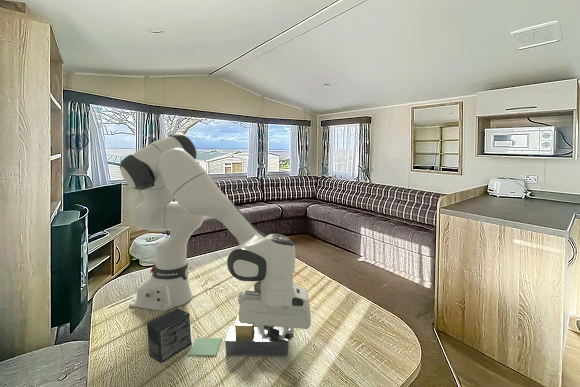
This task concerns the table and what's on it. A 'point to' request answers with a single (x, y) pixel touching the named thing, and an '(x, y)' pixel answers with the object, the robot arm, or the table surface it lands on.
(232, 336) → the body
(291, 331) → the lever
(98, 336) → the table surface
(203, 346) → the mat
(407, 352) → the table surface
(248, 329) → the wooden cube with knob
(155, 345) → the small box
